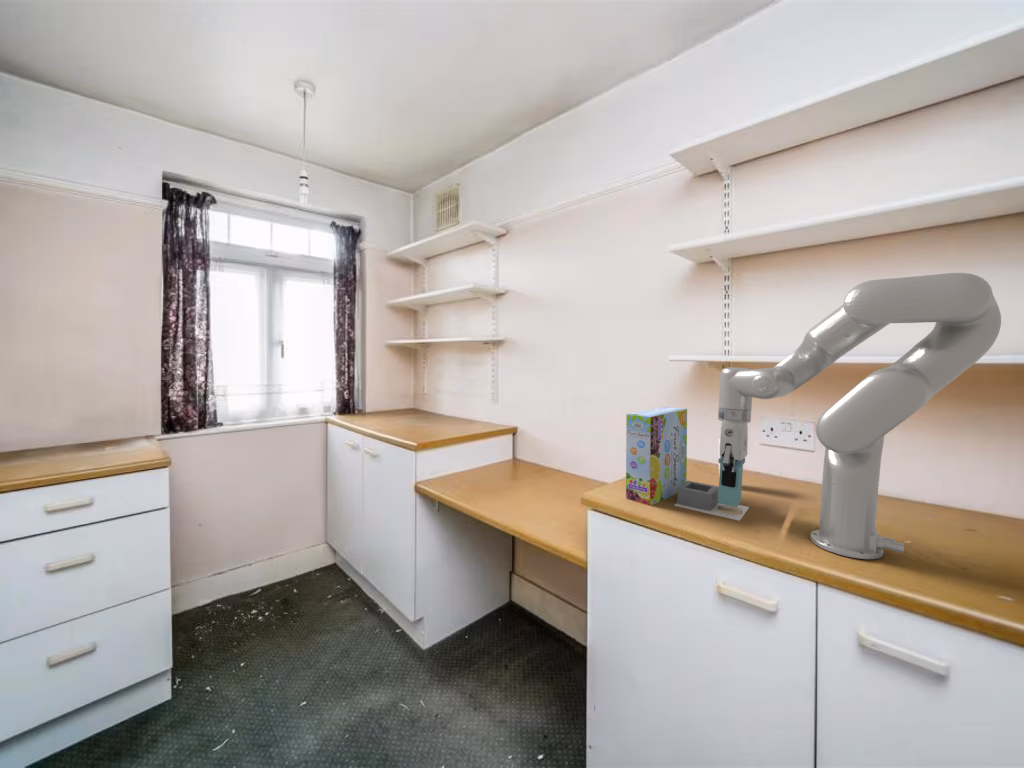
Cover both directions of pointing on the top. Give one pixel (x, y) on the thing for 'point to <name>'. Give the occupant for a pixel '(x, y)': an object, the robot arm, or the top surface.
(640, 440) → the snack box
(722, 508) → the board
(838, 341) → the robot arm
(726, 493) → the plug
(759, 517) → the top surface
